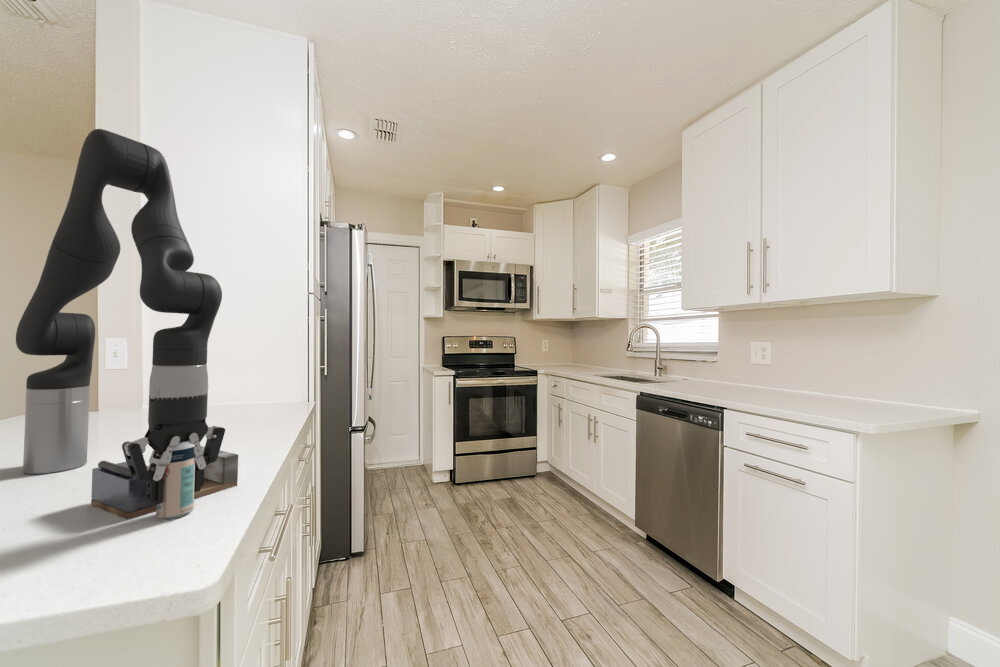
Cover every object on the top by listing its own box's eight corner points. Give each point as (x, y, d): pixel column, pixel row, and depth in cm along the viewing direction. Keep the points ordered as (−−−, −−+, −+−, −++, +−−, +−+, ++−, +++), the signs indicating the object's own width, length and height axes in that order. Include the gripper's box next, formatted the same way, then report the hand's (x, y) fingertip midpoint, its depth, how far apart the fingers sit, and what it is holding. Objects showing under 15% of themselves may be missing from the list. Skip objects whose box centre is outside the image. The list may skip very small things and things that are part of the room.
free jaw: (91, 498, 68) (92, 461, 68) (130, 488, 73) (131, 453, 73) (128, 512, 63) (129, 472, 63) (167, 500, 68) (168, 463, 68)
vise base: (91, 505, 68) (92, 469, 68) (200, 475, 84) (201, 446, 84) (127, 520, 63) (129, 481, 63) (237, 485, 79) (238, 454, 79)
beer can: (162, 510, 67) (165, 438, 67) (197, 506, 69) (199, 435, 69) (151, 522, 62) (153, 445, 63) (188, 518, 64) (191, 442, 64)
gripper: (212, 386, 74) (209, 479, 74) (111, 395, 61) (107, 508, 61) (238, 389, 71) (235, 486, 70) (137, 400, 58) (133, 519, 57)
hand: (175, 496), depth 66 cm, fingers closed on beer can, 4 cm apart
